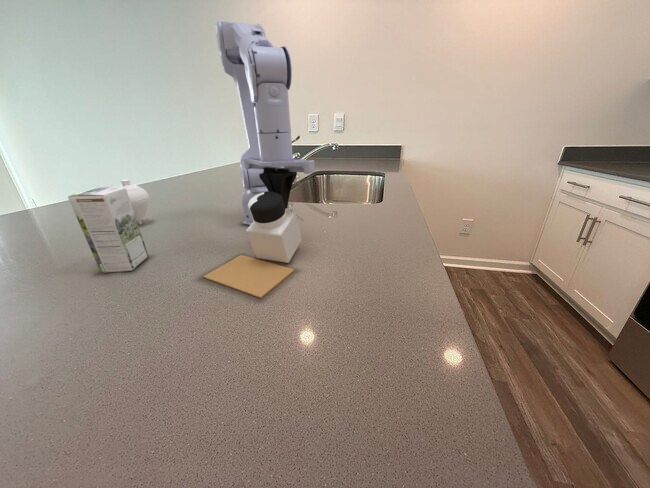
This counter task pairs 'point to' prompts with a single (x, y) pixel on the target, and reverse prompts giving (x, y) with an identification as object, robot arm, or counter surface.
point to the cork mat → (250, 275)
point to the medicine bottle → (273, 228)
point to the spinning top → (137, 199)
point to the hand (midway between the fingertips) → (281, 208)
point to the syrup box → (110, 228)
